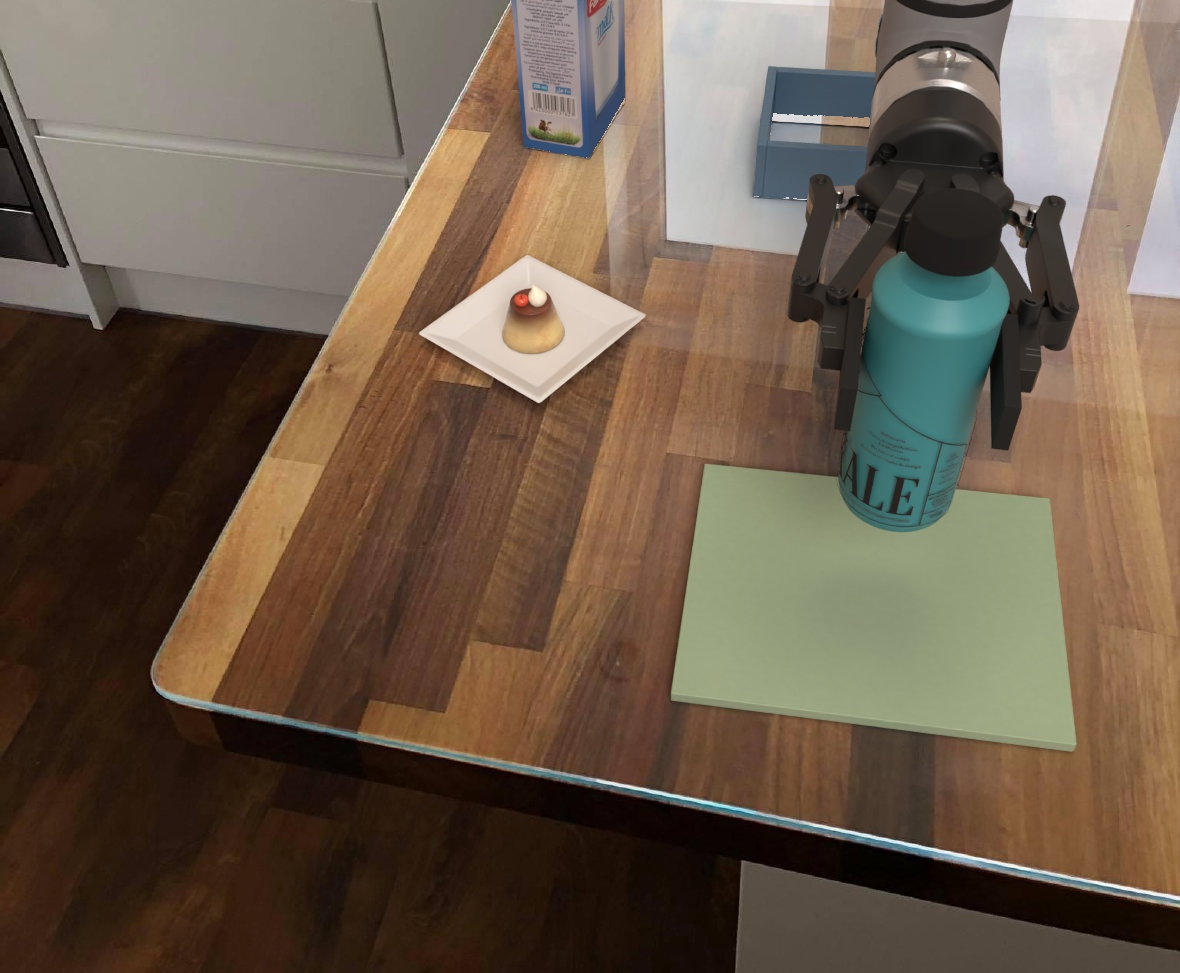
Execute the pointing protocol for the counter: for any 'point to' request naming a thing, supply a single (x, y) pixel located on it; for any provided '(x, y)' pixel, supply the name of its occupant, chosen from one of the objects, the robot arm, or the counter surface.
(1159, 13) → the counter surface
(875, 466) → the beverage bottle
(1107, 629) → the counter surface
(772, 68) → the box
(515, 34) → the milk carton
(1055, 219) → the robot arm
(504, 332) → the dessert
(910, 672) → the mat
